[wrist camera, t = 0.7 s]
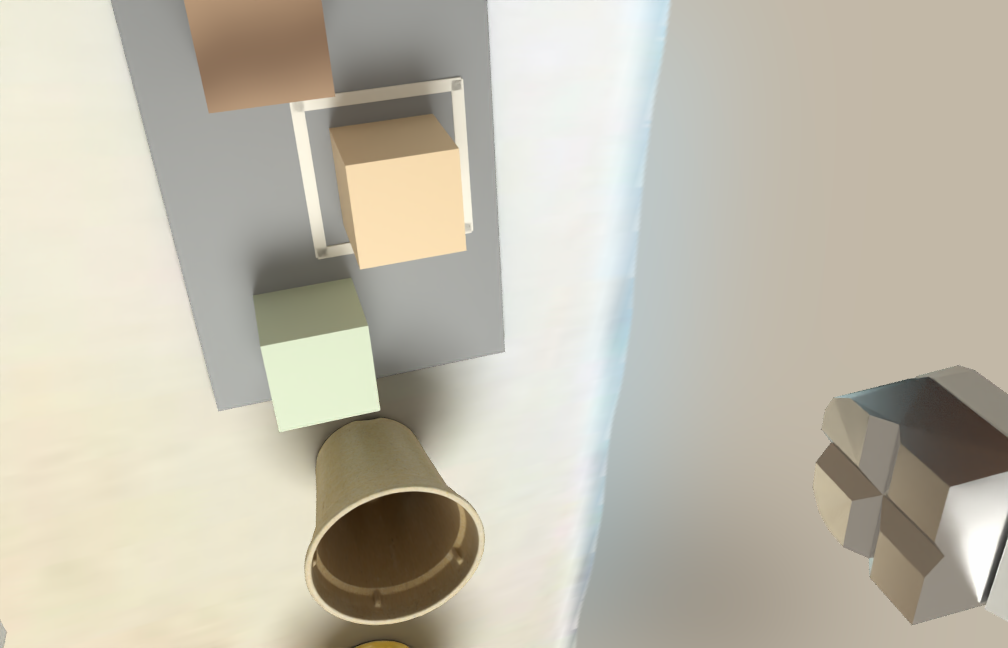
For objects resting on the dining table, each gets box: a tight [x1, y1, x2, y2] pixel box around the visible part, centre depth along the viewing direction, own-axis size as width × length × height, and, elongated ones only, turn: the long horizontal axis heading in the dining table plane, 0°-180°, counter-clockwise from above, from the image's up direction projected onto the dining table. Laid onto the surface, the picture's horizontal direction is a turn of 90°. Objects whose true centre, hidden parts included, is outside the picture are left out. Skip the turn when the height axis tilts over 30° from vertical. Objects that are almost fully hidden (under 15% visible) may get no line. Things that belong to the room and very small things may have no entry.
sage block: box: [253, 278, 380, 432], centre depth 46 cm, size 5×5×5 cm
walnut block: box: [184, 0, 335, 113], centre depth 37 cm, size 5×5×5 cm
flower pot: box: [305, 418, 485, 625], centre depth 51 cm, size 9×9×9 cm
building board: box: [111, 0, 505, 411], centre depth 42 cm, size 24×16×6 cm, turn 2°
